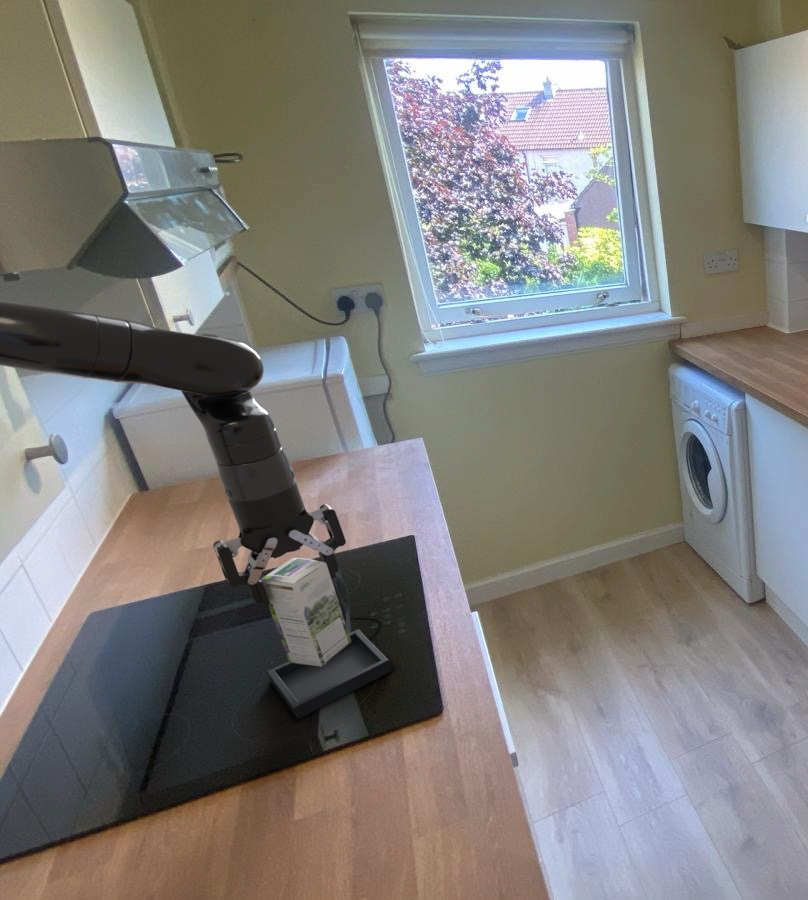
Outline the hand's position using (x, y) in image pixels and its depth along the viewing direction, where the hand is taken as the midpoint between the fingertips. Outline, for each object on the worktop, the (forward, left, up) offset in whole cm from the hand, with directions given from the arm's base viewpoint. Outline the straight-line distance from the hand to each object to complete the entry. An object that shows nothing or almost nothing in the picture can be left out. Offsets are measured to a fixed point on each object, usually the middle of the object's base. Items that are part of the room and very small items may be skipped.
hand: (299, 589), depth 102 cm
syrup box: (0, 0, -11) cm, 11 cm away
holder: (0, 0, -16) cm, 16 cm away
